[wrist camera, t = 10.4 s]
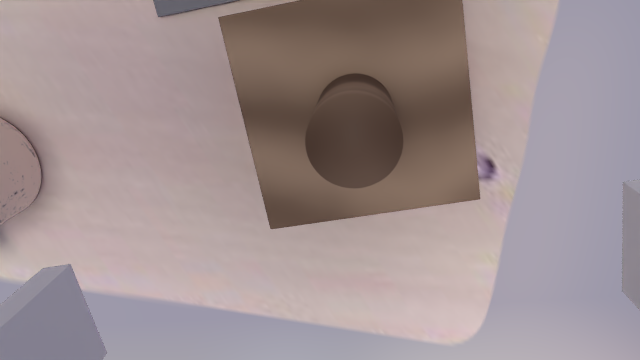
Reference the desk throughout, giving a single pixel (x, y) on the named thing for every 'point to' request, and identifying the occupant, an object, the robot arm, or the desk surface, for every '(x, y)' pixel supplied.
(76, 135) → the desk surface
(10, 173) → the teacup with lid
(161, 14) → the rubber mat
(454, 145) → the walnut lid
